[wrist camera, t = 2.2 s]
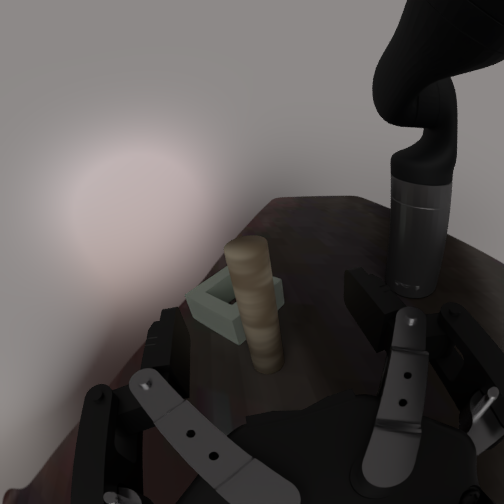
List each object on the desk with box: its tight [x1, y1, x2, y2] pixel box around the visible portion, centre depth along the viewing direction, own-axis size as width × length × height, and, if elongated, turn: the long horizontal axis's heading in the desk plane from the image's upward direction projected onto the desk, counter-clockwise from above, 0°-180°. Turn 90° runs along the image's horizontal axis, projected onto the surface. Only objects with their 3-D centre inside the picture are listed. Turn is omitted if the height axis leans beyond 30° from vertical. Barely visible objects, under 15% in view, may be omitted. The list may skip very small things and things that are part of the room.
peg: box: [224, 235, 284, 374], centre depth 27 cm, size 4×4×16 cm
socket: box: [185, 266, 284, 345], centre depth 40 cm, size 10×10×4 cm
